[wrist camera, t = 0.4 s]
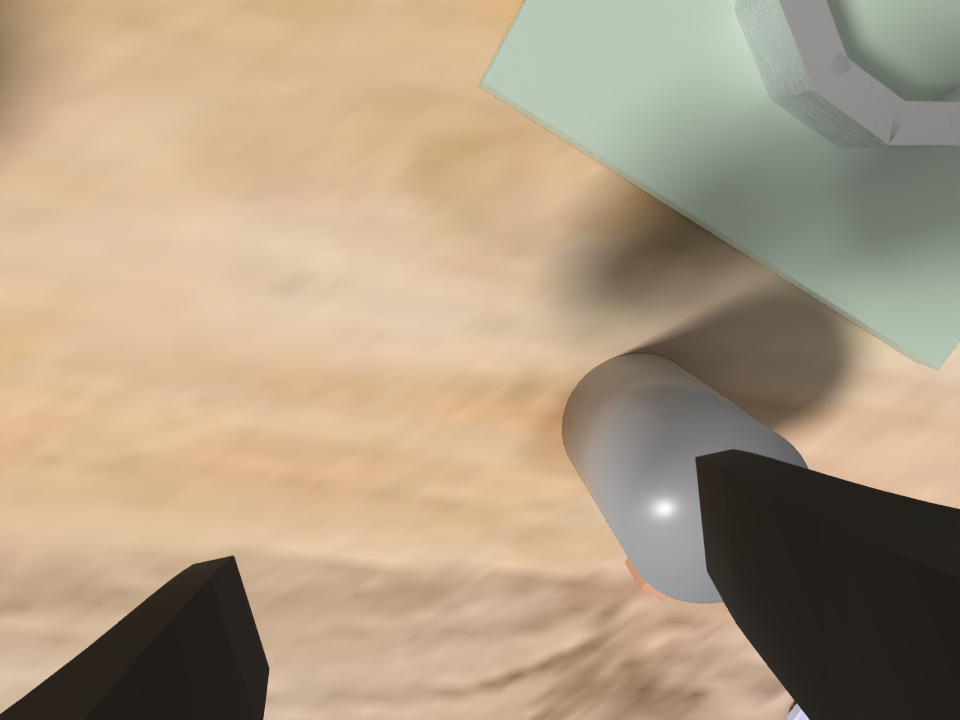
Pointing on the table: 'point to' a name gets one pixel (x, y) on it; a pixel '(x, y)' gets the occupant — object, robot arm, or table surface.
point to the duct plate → (762, 145)
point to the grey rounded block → (657, 463)
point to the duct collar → (837, 81)
